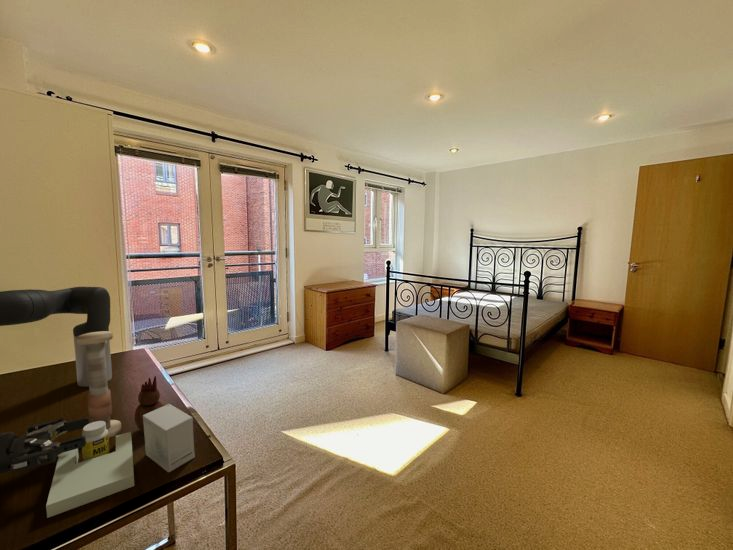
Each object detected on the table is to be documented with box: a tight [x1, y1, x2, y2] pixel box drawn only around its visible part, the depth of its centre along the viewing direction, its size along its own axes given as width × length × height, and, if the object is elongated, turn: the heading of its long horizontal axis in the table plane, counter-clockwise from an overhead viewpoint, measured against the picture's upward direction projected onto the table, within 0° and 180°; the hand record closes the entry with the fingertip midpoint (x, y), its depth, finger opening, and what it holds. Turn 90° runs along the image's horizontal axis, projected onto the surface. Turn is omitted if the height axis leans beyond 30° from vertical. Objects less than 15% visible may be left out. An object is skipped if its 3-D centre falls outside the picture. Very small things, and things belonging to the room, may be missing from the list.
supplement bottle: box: [81, 421, 110, 462], centre depth 73 cm, size 5×5×8 cm
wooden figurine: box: [134, 375, 165, 433], centre depth 85 cm, size 7×6×15 cm
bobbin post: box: [76, 330, 122, 439], centre depth 82 cm, size 8×8×26 cm
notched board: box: [45, 431, 135, 519], centre depth 69 cm, size 18×13×2 cm
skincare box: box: [143, 403, 196, 473], centre depth 75 cm, size 10×6×10 cm, turn 58°
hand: (87, 430), depth 72 cm, fingers open, 8 cm apart
